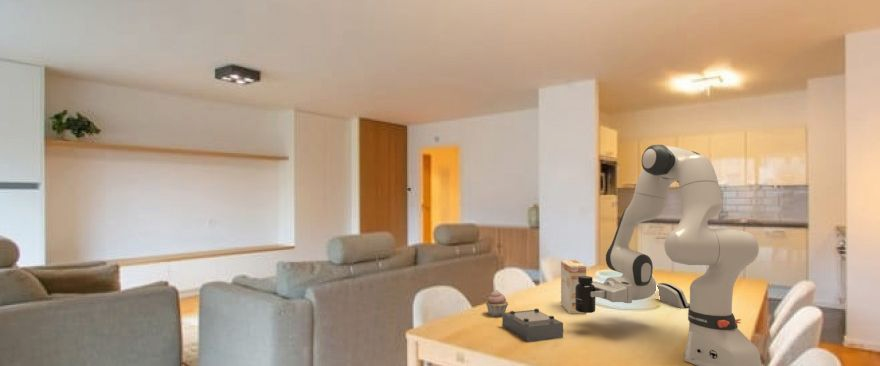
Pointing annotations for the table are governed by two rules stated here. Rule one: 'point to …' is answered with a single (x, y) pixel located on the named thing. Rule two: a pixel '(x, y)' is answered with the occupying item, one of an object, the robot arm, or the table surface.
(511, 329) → the box
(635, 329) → the table surface
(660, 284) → the grey curved wedge
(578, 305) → the supplement bottle
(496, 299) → the cupcake
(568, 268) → the coffeecake box
